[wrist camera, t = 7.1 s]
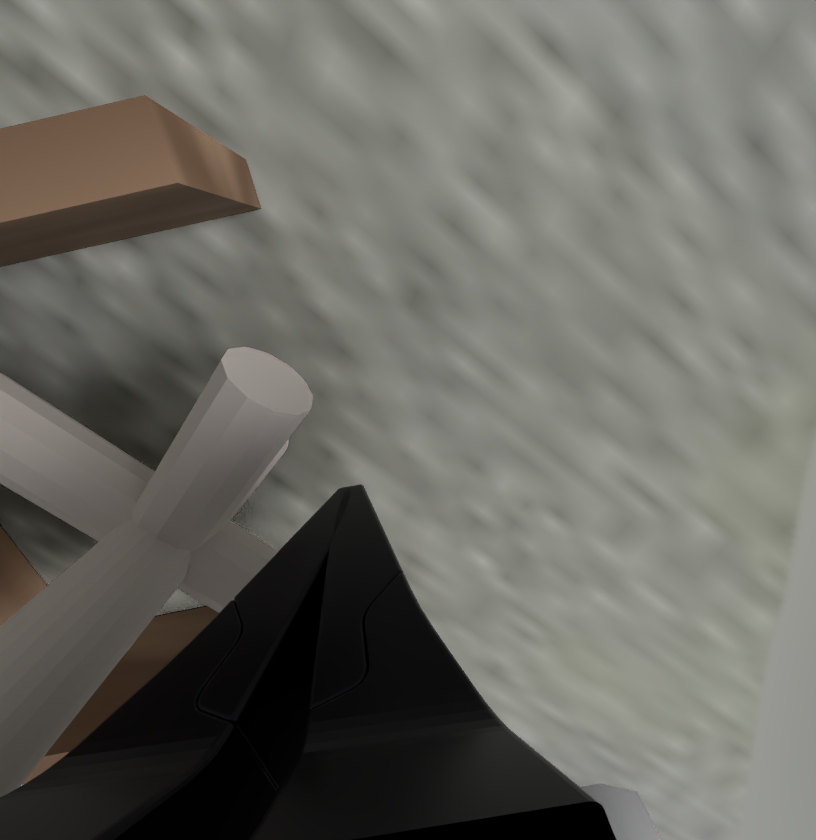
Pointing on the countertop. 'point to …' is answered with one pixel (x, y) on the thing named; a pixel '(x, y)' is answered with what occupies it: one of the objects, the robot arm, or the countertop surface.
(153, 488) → the pipe connector
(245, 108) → the countertop surface
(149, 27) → the countertop surface
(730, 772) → the countertop surface
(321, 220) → the countertop surface
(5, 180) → the walnut bay
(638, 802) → the toilet tissue
